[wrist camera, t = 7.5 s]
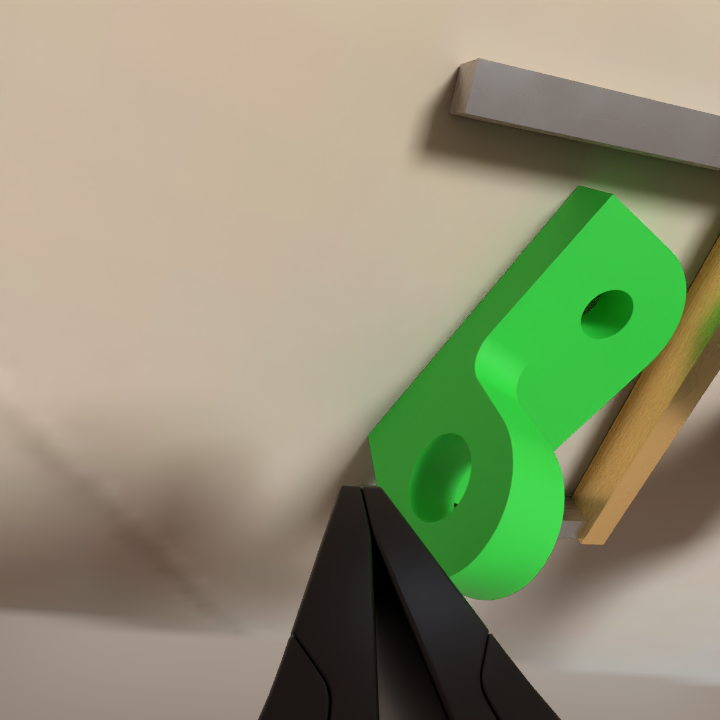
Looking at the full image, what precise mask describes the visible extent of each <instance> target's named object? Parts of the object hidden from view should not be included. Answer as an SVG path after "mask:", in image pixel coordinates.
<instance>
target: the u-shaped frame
mask: <svg viewBox="0 0 720 720" xmlns="http://www.w3.org/2000/svg"><path fill="white" fill-rule="evenodd" d="M449 114H454V115H458V116H463V117H468V118H472V119H477V120H482V121H486V122H491V123H496V124H500V125H505V126H510V127H515V128H519V129H524V130H529V131H533V132H538V133H543V134H547V135H552V136H557V137H561V138H566V139H571V140H576V141H580V142H585V143H590V144H594V145H599V146H604V147H608V148H613V149H618V150H622V151H627V152H632V153H637V154H641V155H646V156H651V157H655V158H660V159H665V160H669V161H674V162H679V163H683V164H688V165H693V166H698V167H702V168H707V169H712V170H716V171H720V116H717V115H713V114H709V113H705V112H701V111H697V110H692V109H688V108H684V107H680V106H676V105H671V104H667V103H663V102H659V101H655V100H651V99H646V98H642V97H638V96H634V95H630V94H626V93H621V92H617V91H613V90H609V89H605V88H601V87H596V86H592V85H588V84H584V83H580V82H576V81H571V80H567V79H563V78H559V77H555V76H551V75H546V74H542V73H538V72H534V71H530V70H526V69H521V68H517V67H513V66H509V65H505V64H501V63H496V62H492V61H488V60H484V59H480V58H478V59H476V60H473V61H470V62H467V63H464V64H461V65H460V69H459V73H458V77H457V82H456V86H455V90H454V94H453V98H452V103H451V107H450V111H449ZM719 370H720V236H719V238H718V239H717V241H716V243H715V245H714V246H713V248H712V250H711V252H710V253H709V255H708V257H707V259H706V261H705V262H704V264H703V266H702V268H701V269H700V271H699V273H698V275H697V276H696V278H695V280H694V282H693V283H692V285H691V287H690V289H689V291H688V292H687V294H686V301H685V306H684V310H683V313H682V317H681V319H680V322H679V324H678V326H677V328H676V330H675V332H674V334H673V336H672V337H671V339H670V340H669V342H668V343H667V345H666V346H665V347H664V349H663V350H662V351H661V352H660V353H659V354H658V356H657V357H656V358H655V359H654V360H653V361H652V362H651V363H650V364H649V365H648V366H647V367H645V368H644V370H643V372H642V374H641V375H640V377H639V379H638V381H637V382H636V384H635V386H634V388H633V389H632V391H631V393H630V395H629V396H628V398H627V400H626V402H625V404H624V405H623V407H622V409H621V411H620V412H619V414H618V416H617V418H616V419H615V421H614V423H613V425H612V427H611V428H610V430H609V432H608V434H607V435H606V437H605V439H604V441H603V442H602V444H601V446H600V448H599V449H598V451H597V453H596V455H595V457H594V458H593V460H592V462H591V464H590V465H589V467H588V469H587V471H586V472H585V474H584V476H583V478H582V479H581V481H580V483H579V485H578V487H577V488H576V490H575V492H574V494H573V495H572V497H565V500H564V513H563V519H562V524H561V528H560V532H559V535H558V538H570V539H578V540H579V541H580V543H581V544H594V545H604V543H605V542H606V540H607V539H608V537H609V536H610V534H611V533H612V531H613V530H614V528H615V527H616V525H617V524H618V522H619V520H620V519H621V517H622V516H623V514H624V513H625V511H626V510H627V508H628V507H629V505H630V504H631V502H632V501H633V499H634V498H635V496H636V495H637V493H638V492H639V490H640V489H641V487H642V486H643V484H644V483H645V481H646V480H647V478H648V477H649V475H650V474H651V472H652V471H653V469H654V468H655V466H656V465H657V463H658V462H659V460H660V459H661V457H662V456H663V454H664V453H665V451H666V450H667V448H668V447H669V445H670V444H671V442H672V441H673V439H674V438H675V436H676V435H677V433H678V432H679V430H680V429H681V427H682V426H683V424H684V423H685V421H686V420H687V418H688V417H689V415H690V414H691V412H692V411H693V409H694V408H695V406H696V405H697V403H698V402H699V400H700V398H701V397H702V395H703V394H704V392H705V391H706V389H707V388H708V386H709V385H710V383H711V382H712V380H713V379H714V377H715V376H716V374H717V373H718V371H719ZM360 488H361V486H360ZM457 505H458V504H457V503H455V502H454V509H455V507H456V506H457Z"/></svg>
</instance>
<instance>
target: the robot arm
mask: <svg viewBox="0 0 720 720" xmlns="http://www.w3.org/2000/svg"><path fill="white" fill-rule="evenodd" d="M488 633H489V630H488V629H487V627H486V626H485V625H484V623H483V622H482V621H481V619H480V618H479V617H478V615H477V614H476V613H475V611H474V610H473V609H472V607H471V606H470V605H469V603H468V602H467V601H466V599H465V598H464V597H463V595H462V594H461V593H460V591H459V590H458V589H457V587H456V586H455V585H454V583H453V582H452V581H451V579H450V578H449V577H448V575H447V574H446V573H445V571H444V570H443V569H442V567H441V566H440V565H439V563H438V562H437V561H436V559H435V558H434V557H433V555H432V554H431V553H430V551H429V550H428V549H427V547H426V546H425V545H424V543H423V542H422V541H421V539H420V538H419V537H418V535H417V534H416V533H415V531H414V530H413V529H412V527H411V526H410V525H409V523H408V522H407V521H406V519H405V518H404V517H403V515H402V514H401V513H400V511H399V510H398V509H397V507H396V506H395V505H394V503H393V502H392V501H391V499H390V498H389V497H388V495H387V494H386V493H385V491H384V490H383V489H382V488H381V487H379V486H369V485H363V486H361V488H360V486H359V485H349V484H342V485H341V486H340V488H339V491H338V494H337V497H336V500H335V503H334V506H333V509H332V512H331V515H330V518H329V521H328V524H327V527H326V530H325V533H324V536H323V539H322V542H321V545H320V548H319V551H318V554H317V557H316V560H315V563H314V566H313V569H312V572H311V575H310V578H309V581H308V584H307V587H306V590H305V593H304V596H303V599H302V602H301V605H300V608H299V611H298V614H297V617H296V620H295V623H294V626H293V629H292V632H291V636H290V638H289V640H288V643H287V646H286V649H285V652H284V655H283V658H282V661H281V663H280V666H279V669H278V672H277V674H276V677H275V680H274V682H273V685H272V688H271V690H270V693H269V696H268V698H267V700H266V703H265V705H264V707H263V709H262V712H261V714H260V716H259V719H258V720H561V719H560V718H559V717H558V716H557V714H556V713H555V712H554V711H553V710H552V709H551V708H550V706H549V705H548V704H547V703H546V702H545V701H544V699H543V698H542V697H541V696H540V695H539V694H538V692H537V691H536V690H535V689H534V688H533V686H532V685H531V684H530V683H529V682H528V680H527V679H526V678H525V676H524V675H523V674H522V673H521V671H520V670H519V669H518V668H517V666H516V665H515V664H514V662H513V661H512V660H511V659H510V657H509V656H508V655H507V654H506V652H505V651H504V650H503V648H502V647H501V646H500V644H499V643H498V642H497V640H496V639H495V638H494V636H493V635H492V634H488Z"/></svg>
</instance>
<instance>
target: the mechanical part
mask: <svg viewBox="0 0 720 720" xmlns="http://www.w3.org/2000/svg"><path fill="white" fill-rule="evenodd" d="M600 294H601V295H600ZM598 295H600V298H599V300H598V302H597V303H596V305H595V306H594V307H593V308H592V309H591V310H590V311H589V312H587V313H586V314H584V315H582V314H583V311H584V309H585V308H586V306H587V305H588V304H589V303H590V302H591V301H592V300H593V299H594V298H595V297H596V296H598ZM685 301H686V279H685V275H684V271H683V268H682V266H681V264H680V262H679V260H678V259H677V257H676V256H675V255H674V254H673V253H672V251H671V250H670V249H669V248H668V247H667V246H666V245H665V244H663V243H662V242H661V241H660V240H659V239H658V238H657V237H656V236H655V235H654V234H653V233H652V232H651V231H650V230H649V229H648V228H647V227H646V226H645V225H644V224H643V223H642V222H641V221H640V220H639V219H638V218H637V217H636V216H635V215H634V214H633V213H632V212H631V211H630V210H629V209H628V208H627V207H625V206H624V205H623V204H622V203H621V202H620V201H619V200H618V199H617V198H616V197H615V196H614V195H613V194H610V193H606V192H602V191H598V190H594V189H590V188H587V187H583V186H578V187H577V188H576V190H575V191H574V192H573V193H572V194H571V195H570V197H569V198H568V199H567V200H566V201H565V203H564V204H563V205H562V206H561V207H560V209H559V210H558V211H557V212H556V213H555V214H554V216H553V217H552V218H551V219H550V220H549V222H548V223H547V224H546V225H545V226H544V227H543V229H542V230H541V231H540V232H539V233H538V235H537V236H536V237H535V238H534V239H533V241H532V242H531V243H530V244H529V245H528V246H527V248H526V249H525V250H524V251H523V252H522V254H521V255H520V256H519V257H518V258H517V260H516V261H515V262H514V263H513V264H512V265H511V267H510V268H509V269H508V270H507V271H506V273H505V274H504V275H503V276H502V277H501V278H500V280H499V281H498V282H497V283H496V284H495V286H494V287H493V288H492V289H491V290H490V292H489V293H488V294H487V295H486V296H485V297H484V299H483V300H482V301H481V302H480V303H479V305H478V306H477V307H476V308H475V309H474V311H473V312H472V313H471V314H470V315H469V316H468V318H467V319H466V320H465V321H464V322H463V324H462V325H461V326H460V327H459V328H458V330H457V331H456V332H455V333H454V334H453V335H452V337H451V338H450V339H449V340H448V341H447V343H446V344H445V345H444V346H443V347H442V348H441V350H440V351H439V352H438V353H437V354H436V356H435V357H434V358H433V359H432V360H431V362H430V363H429V364H428V365H427V366H426V367H425V369H424V370H423V371H422V372H421V373H420V375H419V376H418V377H417V378H416V379H415V381H414V382H413V383H412V384H411V385H410V386H409V388H408V389H407V390H406V391H405V392H404V394H403V395H402V396H401V397H400V398H399V399H398V401H397V402H396V403H395V404H394V405H393V407H392V408H391V409H390V410H389V411H388V413H387V414H386V415H385V416H384V417H383V418H382V420H381V421H380V422H379V423H378V424H377V426H376V427H375V428H374V429H373V430H372V432H371V433H370V434H369V435H368V439H369V445H370V450H371V456H372V461H373V467H374V472H375V478H376V483H377V486H379V487H381V488H382V489H383V490H384V491H385V493H386V494H387V495H388V497H389V498H390V499H391V501H392V502H393V503H394V505H395V506H396V507H397V509H398V510H399V511H400V513H401V514H402V515H403V517H404V518H405V519H406V521H407V522H408V523H409V525H410V526H411V527H412V529H413V530H414V531H415V533H416V534H417V535H418V537H419V538H420V539H421V541H422V542H423V543H424V545H425V546H426V547H427V549H428V550H429V551H430V553H431V554H432V555H433V557H434V558H435V559H436V561H437V562H438V563H439V565H440V566H441V567H442V569H443V570H444V571H445V573H446V574H447V575H448V577H449V578H450V579H451V581H452V582H453V583H454V585H455V586H456V587H457V589H458V590H459V591H460V593H461V594H462V595H464V596H467V597H470V598H474V599H478V600H495V599H500V598H503V597H506V596H509V595H511V594H513V593H515V592H517V591H519V590H520V589H522V588H523V587H525V586H526V585H527V584H528V583H529V582H530V581H531V580H532V579H533V578H534V577H535V576H536V575H537V574H538V572H539V571H540V570H541V568H542V567H543V566H544V564H545V563H546V561H547V559H548V558H549V556H550V554H551V552H552V550H553V548H554V545H555V543H556V541H557V538H558V535H559V532H560V528H561V524H562V519H563V513H564V500H565V496H564V483H563V476H562V472H561V468H560V465H559V462H558V460H557V458H556V456H555V453H554V451H555V450H556V449H557V448H558V447H559V446H560V445H561V444H562V443H563V442H564V441H566V440H567V439H568V438H569V437H570V436H571V435H572V434H573V433H574V432H575V431H577V430H578V429H579V428H580V427H581V426H582V425H583V424H584V423H585V422H586V421H587V420H589V419H590V418H591V417H592V416H593V415H594V414H595V413H596V412H597V411H598V410H599V409H601V408H602V407H603V406H604V405H605V404H606V403H607V402H608V401H609V400H610V399H612V398H613V397H614V396H615V395H616V394H617V393H618V392H619V391H620V390H621V389H622V388H624V387H625V386H626V385H627V384H628V383H629V382H630V381H631V380H632V379H633V378H634V377H636V376H637V375H638V374H639V373H640V372H641V371H642V370H643V369H644V368H645V367H647V366H648V365H649V364H650V363H651V362H652V361H653V360H654V359H655V358H656V357H657V356H658V354H659V353H660V352H661V351H662V350H663V349H664V347H665V346H666V345H667V343H668V342H669V340H670V339H671V337H672V336H673V334H674V332H675V330H676V328H677V326H678V324H679V322H680V319H681V317H682V313H683V310H684V306H685ZM454 502H455V503H457V504H458V505H457V506H456V507H455V509H454Z"/></svg>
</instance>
